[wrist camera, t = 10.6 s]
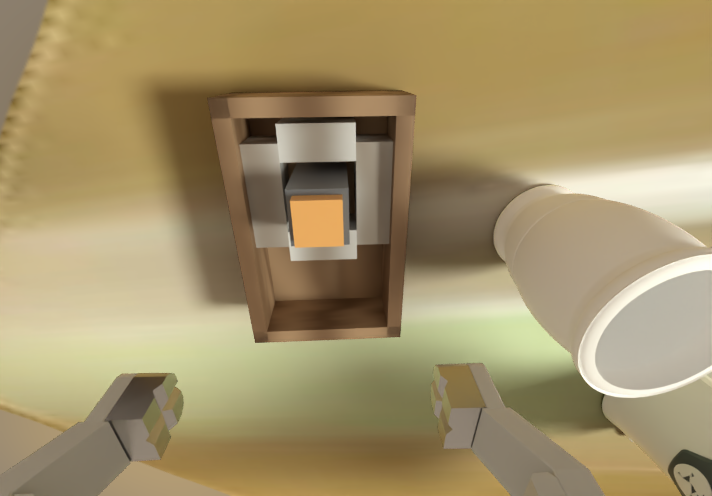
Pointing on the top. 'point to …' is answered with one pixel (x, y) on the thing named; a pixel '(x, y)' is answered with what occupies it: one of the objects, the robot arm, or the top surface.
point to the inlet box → (366, 208)
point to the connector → (318, 205)
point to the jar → (612, 288)
